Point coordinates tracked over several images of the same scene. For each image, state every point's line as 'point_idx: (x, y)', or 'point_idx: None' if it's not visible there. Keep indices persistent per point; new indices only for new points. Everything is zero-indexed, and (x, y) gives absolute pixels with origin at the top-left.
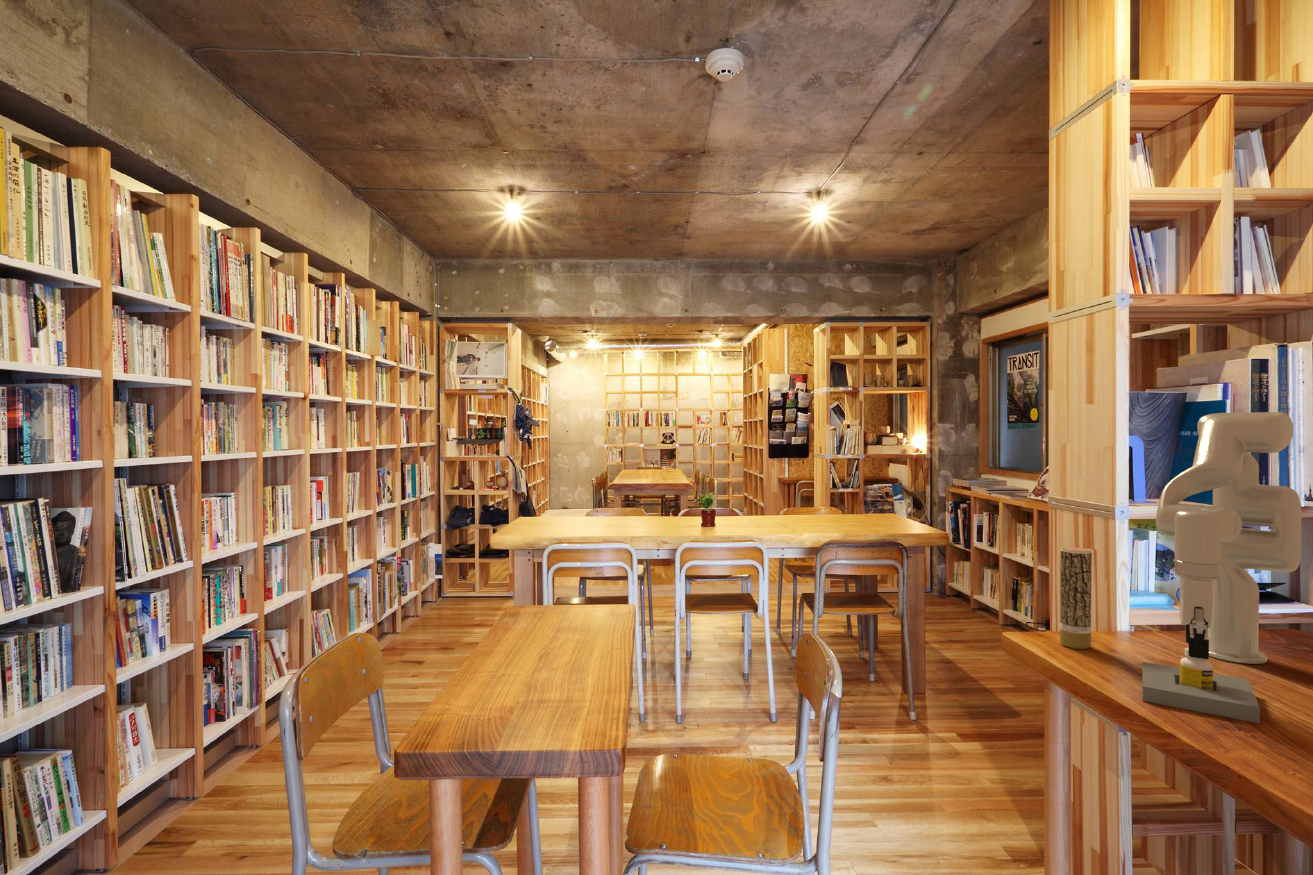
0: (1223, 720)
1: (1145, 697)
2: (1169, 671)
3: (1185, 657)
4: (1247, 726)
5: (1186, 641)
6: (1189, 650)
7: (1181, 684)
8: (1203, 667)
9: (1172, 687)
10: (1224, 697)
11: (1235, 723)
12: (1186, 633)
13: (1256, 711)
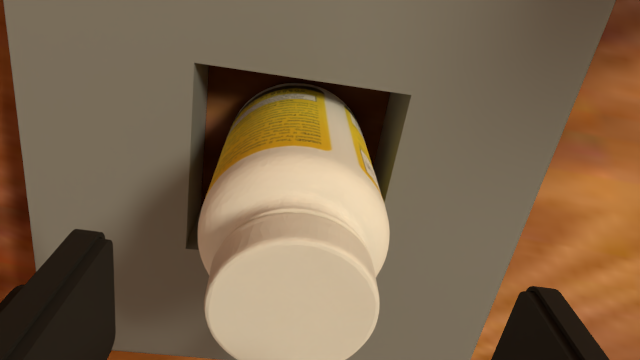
0: (11, 187)
1: None
2: (457, 78)
3: (329, 201)
4: (3, 252)
5: (536, 290)
6: (47, 263)
7: (271, 101)
8: (203, 263)
9: (105, 30)
10: None
11: (7, 221)
12: (574, 351)
13: None
